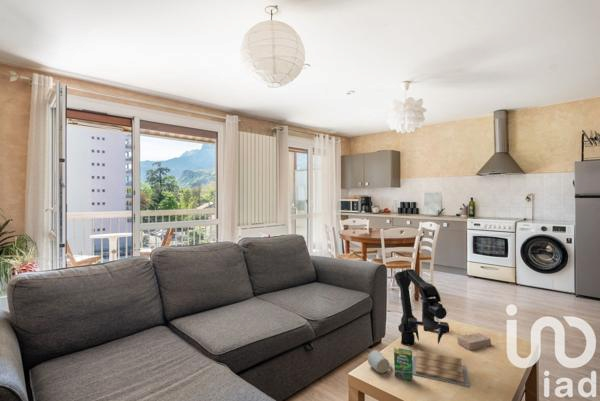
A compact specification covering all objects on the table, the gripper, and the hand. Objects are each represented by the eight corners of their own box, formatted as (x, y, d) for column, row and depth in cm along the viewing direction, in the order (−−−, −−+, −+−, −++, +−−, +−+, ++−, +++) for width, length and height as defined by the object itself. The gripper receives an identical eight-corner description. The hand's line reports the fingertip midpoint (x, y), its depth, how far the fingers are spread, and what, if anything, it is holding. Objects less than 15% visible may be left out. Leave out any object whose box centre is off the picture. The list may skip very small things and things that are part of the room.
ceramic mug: (377, 376, 144) (377, 360, 144) (367, 367, 151) (367, 351, 151) (395, 371, 148) (396, 355, 148) (385, 362, 155) (385, 347, 155)
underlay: (410, 374, 145) (410, 373, 145) (413, 356, 160) (413, 355, 160) (469, 386, 135) (469, 386, 135) (465, 366, 151) (465, 365, 151)
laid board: (415, 373, 145) (415, 370, 145) (416, 365, 151) (416, 363, 151) (463, 383, 137) (463, 380, 137) (462, 375, 143) (462, 372, 143)
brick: (478, 339, 179) (478, 331, 179) (492, 345, 171) (492, 337, 171) (456, 344, 173) (456, 336, 173) (469, 351, 165) (469, 343, 165)
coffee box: (393, 376, 143) (393, 348, 143) (394, 373, 146) (394, 346, 145) (411, 381, 139) (411, 353, 139) (412, 378, 142) (412, 350, 141)
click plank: (416, 364, 152) (416, 362, 151) (417, 351, 158) (417, 350, 157) (462, 373, 144) (462, 372, 143) (461, 360, 149) (461, 358, 149)
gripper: (408, 314, 150) (408, 346, 151) (450, 319, 144) (450, 352, 144) (408, 306, 160) (408, 336, 161) (448, 310, 154) (448, 341, 155)
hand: (428, 341), depth 155 cm, fingers open, 9 cm apart
